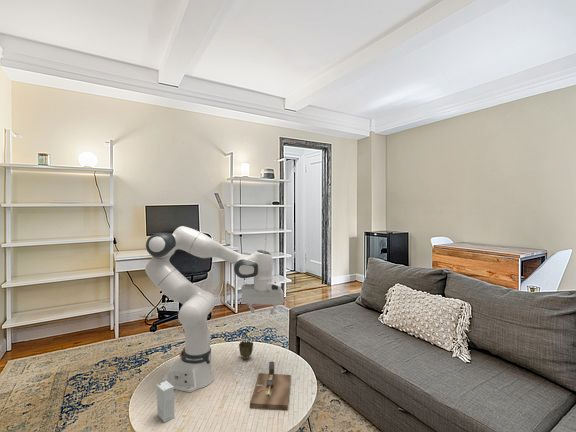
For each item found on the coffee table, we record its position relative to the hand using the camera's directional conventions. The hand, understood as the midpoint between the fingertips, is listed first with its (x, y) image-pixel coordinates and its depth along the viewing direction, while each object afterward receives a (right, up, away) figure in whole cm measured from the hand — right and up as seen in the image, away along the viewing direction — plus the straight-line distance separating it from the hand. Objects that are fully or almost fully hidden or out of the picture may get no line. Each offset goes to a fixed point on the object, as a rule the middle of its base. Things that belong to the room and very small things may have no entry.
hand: (262, 312), depth 149 cm
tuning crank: (+4, -27, -13) cm, 31 cm away
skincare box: (-34, -30, -31) cm, 55 cm away
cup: (-10, -28, +14) cm, 33 cm away
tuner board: (+5, -30, -15) cm, 34 cm away
